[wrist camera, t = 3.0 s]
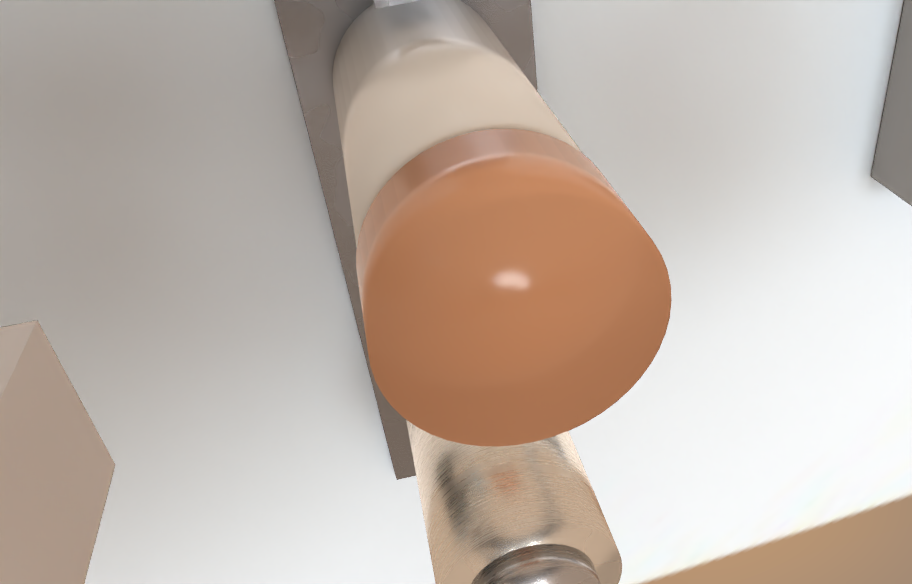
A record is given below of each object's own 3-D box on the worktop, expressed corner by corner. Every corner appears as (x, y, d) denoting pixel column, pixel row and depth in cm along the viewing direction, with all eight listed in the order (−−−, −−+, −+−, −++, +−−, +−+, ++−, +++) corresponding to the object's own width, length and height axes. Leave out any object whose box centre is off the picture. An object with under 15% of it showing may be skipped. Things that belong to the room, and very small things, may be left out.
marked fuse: (350, 174, 20) (397, 473, 12) (311, 6, 17) (336, 233, 9) (511, 142, 20) (668, 411, 12) (495, -28, 18) (675, 162, 10)
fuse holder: (395, 470, 26) (438, 748, 19) (79, -772, 11) (-294, -1715, 4) (559, 433, 27) (664, 692, 19) (463, -814, 12) (758, -1748, 4)
